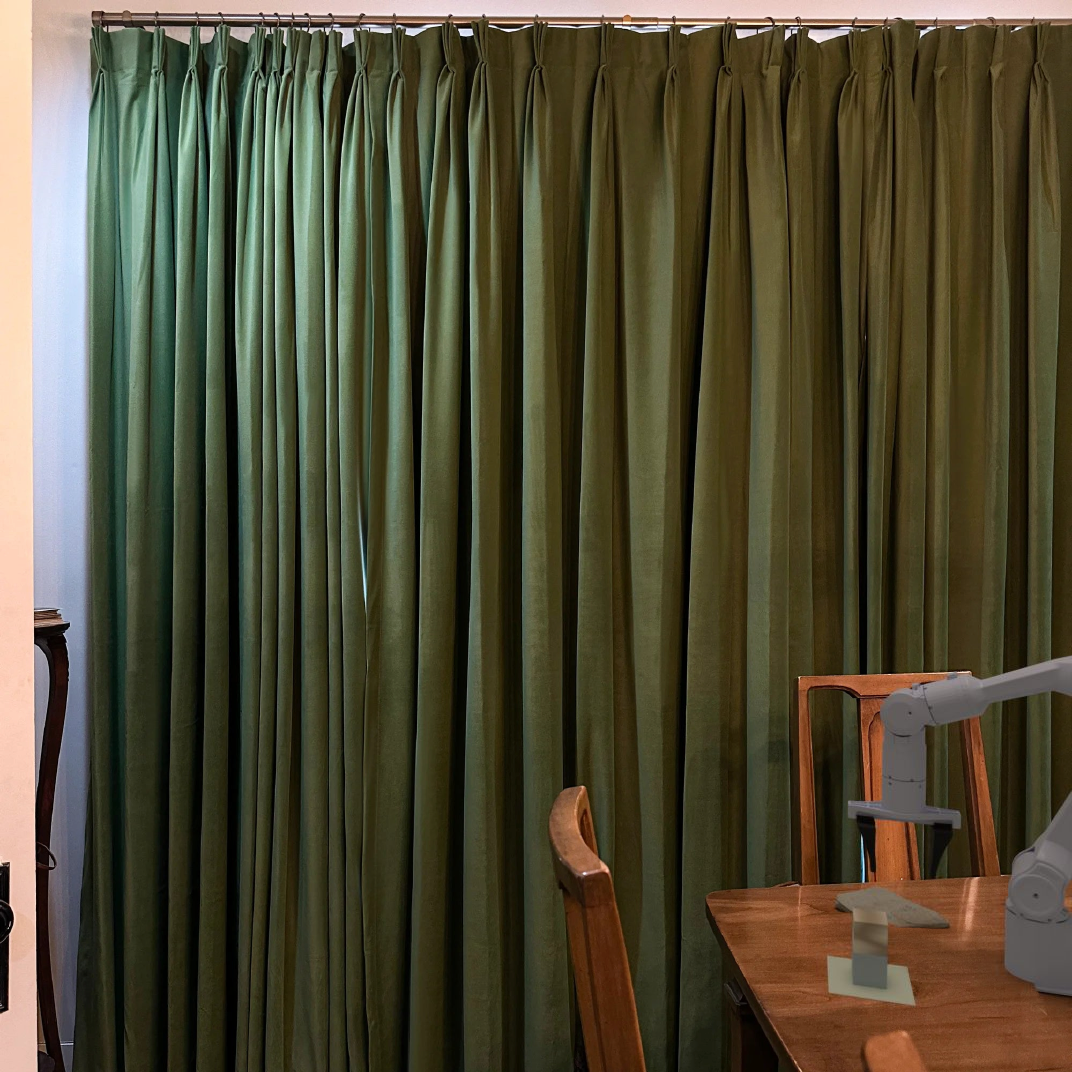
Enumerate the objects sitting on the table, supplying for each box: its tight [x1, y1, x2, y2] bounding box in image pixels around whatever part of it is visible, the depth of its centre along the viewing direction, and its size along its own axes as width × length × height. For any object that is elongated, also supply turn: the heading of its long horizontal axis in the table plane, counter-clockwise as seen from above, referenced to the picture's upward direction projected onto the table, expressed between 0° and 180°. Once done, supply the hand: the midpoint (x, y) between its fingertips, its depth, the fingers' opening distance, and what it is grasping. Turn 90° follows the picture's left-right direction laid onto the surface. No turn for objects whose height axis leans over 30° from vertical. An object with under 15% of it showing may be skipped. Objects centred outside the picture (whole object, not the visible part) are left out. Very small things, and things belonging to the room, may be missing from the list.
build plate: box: [826, 955, 916, 1007], centre depth 116 cm, size 10×10×1 cm
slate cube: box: [851, 940, 888, 989], centre depth 116 cm, size 4×4×4 cm
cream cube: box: [851, 908, 889, 958], centre depth 116 cm, size 4×4×4 cm
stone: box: [834, 886, 951, 929], centre depth 136 cm, size 15×11×3 cm
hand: (902, 873), depth 127 cm, fingers open, 7 cm apart
